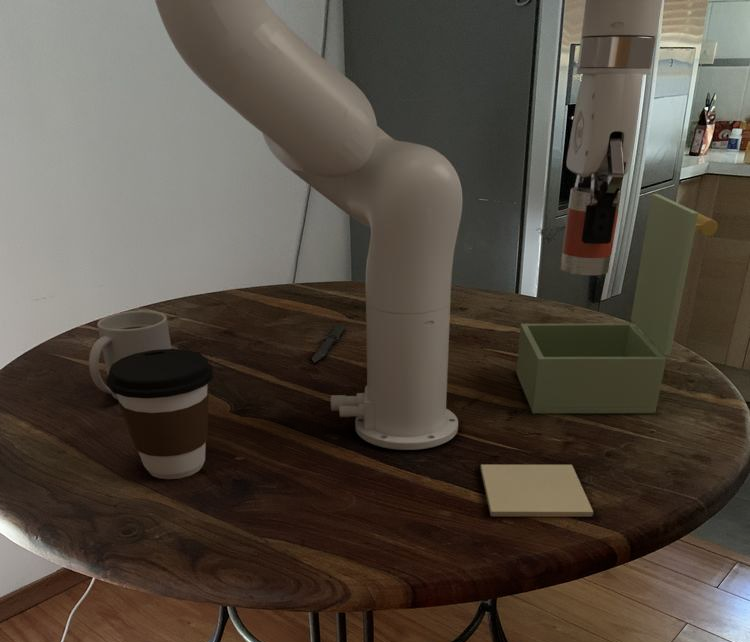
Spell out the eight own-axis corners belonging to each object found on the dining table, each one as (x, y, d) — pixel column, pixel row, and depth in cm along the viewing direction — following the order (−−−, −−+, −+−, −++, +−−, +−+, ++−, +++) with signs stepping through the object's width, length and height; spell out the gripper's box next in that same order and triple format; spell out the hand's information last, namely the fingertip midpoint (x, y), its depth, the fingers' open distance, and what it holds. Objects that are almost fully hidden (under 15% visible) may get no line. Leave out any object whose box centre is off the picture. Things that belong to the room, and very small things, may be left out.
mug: (173, 375, 107) (162, 307, 102) (182, 399, 99) (171, 326, 94) (95, 386, 104) (80, 316, 99) (98, 411, 96) (82, 336, 91)
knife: (332, 322, 125) (349, 321, 125) (332, 327, 126) (349, 325, 125) (305, 360, 111) (324, 359, 110) (306, 365, 111) (325, 364, 110)
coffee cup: (120, 454, 85) (100, 354, 79) (214, 438, 88) (202, 342, 82) (130, 498, 76) (108, 389, 70) (234, 478, 80) (222, 373, 74)
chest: (532, 413, 94) (538, 358, 90) (516, 373, 107) (520, 323, 103) (655, 413, 94) (666, 358, 90) (624, 372, 106) (632, 323, 102)
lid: (691, 212, 81) (737, 212, 81) (651, 193, 94) (691, 193, 94) (663, 355, 90) (705, 355, 90) (630, 320, 102) (666, 320, 102)
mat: (490, 516, 72) (491, 511, 72) (480, 469, 81) (480, 464, 81) (592, 516, 72) (593, 511, 72) (571, 469, 81) (572, 464, 80)
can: (565, 275, 86) (576, 192, 81) (555, 264, 91) (565, 186, 86) (614, 276, 86) (628, 193, 81) (601, 265, 91) (613, 186, 86)
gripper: (561, 60, 85) (542, 224, 94) (600, 56, 70) (573, 252, 79) (626, 60, 85) (601, 225, 94) (679, 57, 70) (643, 253, 79)
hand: (588, 236), depth 86 cm, fingers closed on can, 5 cm apart
